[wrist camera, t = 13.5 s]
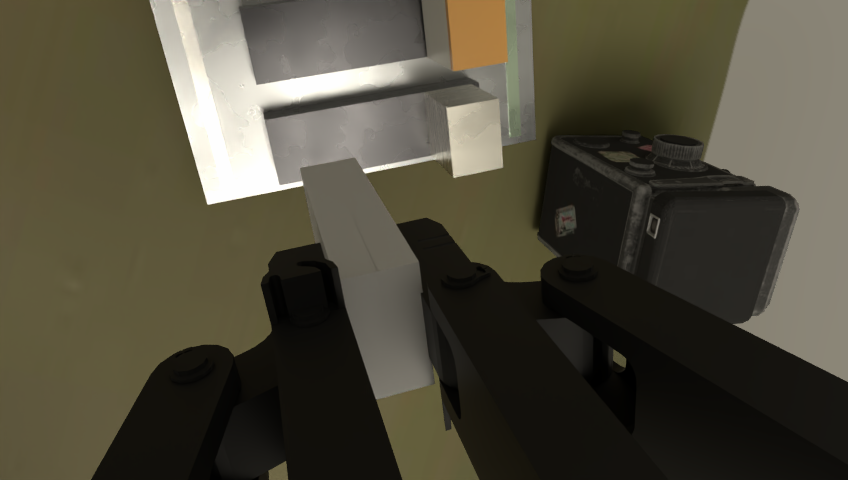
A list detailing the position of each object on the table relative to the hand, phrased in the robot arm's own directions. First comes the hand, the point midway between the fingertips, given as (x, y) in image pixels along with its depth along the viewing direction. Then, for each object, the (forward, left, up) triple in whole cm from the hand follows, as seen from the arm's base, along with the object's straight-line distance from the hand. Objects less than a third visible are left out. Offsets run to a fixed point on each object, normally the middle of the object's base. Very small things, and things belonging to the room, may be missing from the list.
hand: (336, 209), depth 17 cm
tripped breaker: (+10, +2, -20) cm, 22 cm away
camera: (+22, -12, -25) cm, 35 cm away
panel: (+5, +2, -24) cm, 25 cm away
